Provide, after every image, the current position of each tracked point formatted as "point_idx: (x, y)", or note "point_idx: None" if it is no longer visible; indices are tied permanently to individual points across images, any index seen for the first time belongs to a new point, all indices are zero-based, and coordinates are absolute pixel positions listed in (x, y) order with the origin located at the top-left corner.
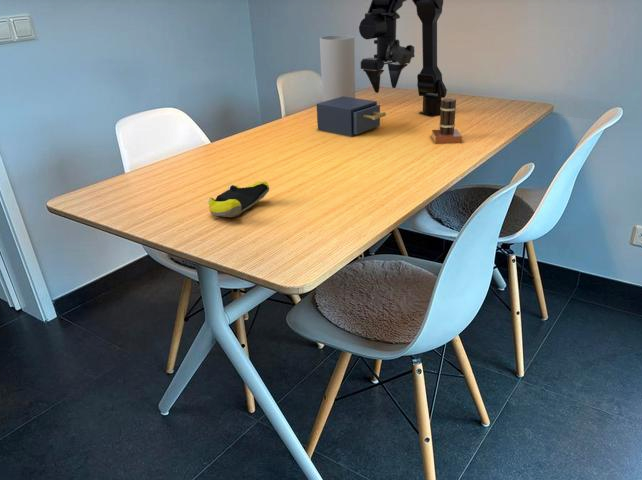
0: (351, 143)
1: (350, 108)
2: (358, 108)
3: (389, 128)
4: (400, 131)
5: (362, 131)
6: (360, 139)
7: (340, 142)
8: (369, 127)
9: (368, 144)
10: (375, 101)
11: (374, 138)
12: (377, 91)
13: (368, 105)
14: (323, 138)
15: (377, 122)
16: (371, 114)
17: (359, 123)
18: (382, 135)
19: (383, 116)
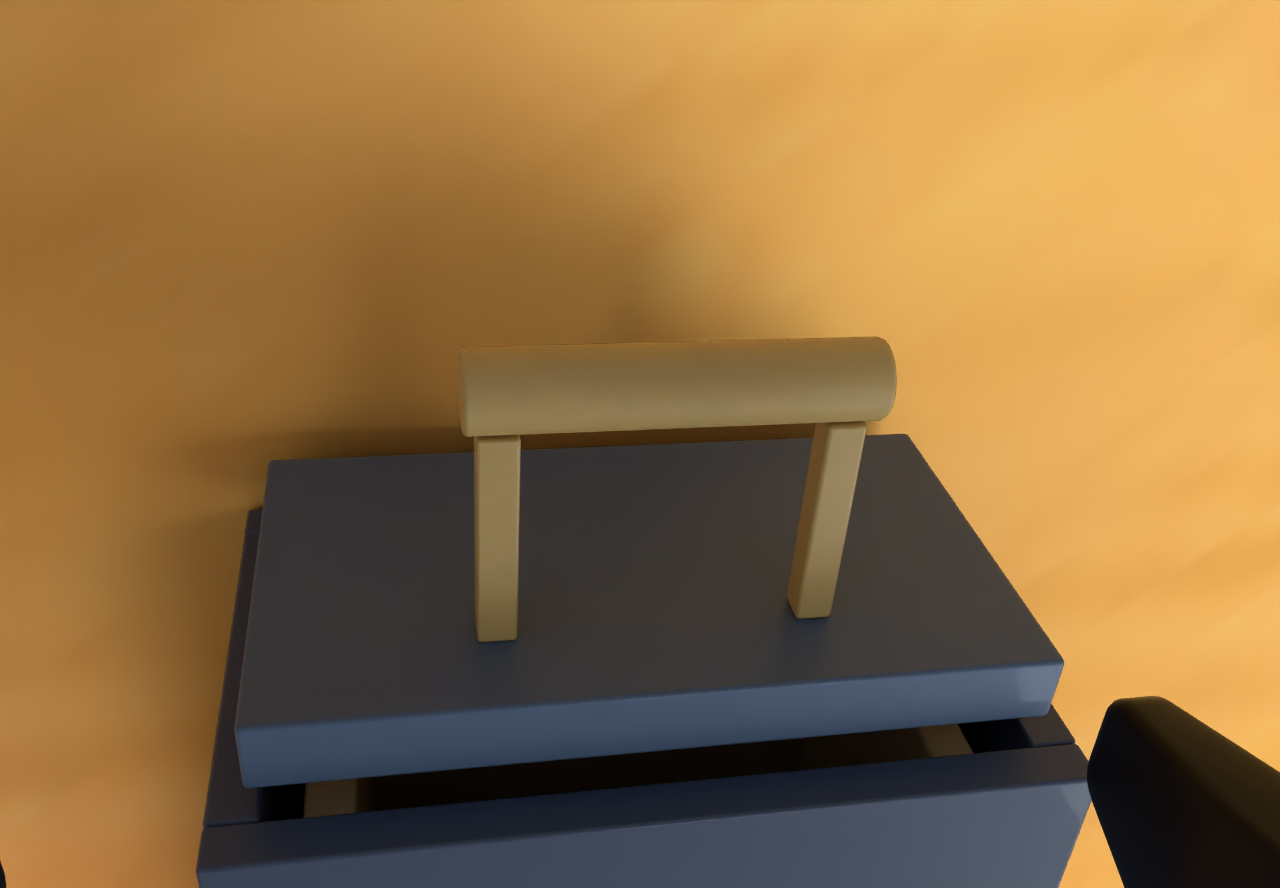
0: (1198, 277)
1: (1023, 830)
2: (865, 781)
3: (134, 319)
4: (150, 17)
5: (767, 446)
6: (967, 300)
7: (1194, 421)
8: (584, 467)
9: (1177, 25)
10: (229, 883)
11: (828, 154)
12: (1193, 729)
13: (527, 812)
14: (1094, 670)
15: (345, 500)
16: (550, 609)
17: (891, 529)
18: (600, 150)
19: (533, 350)
